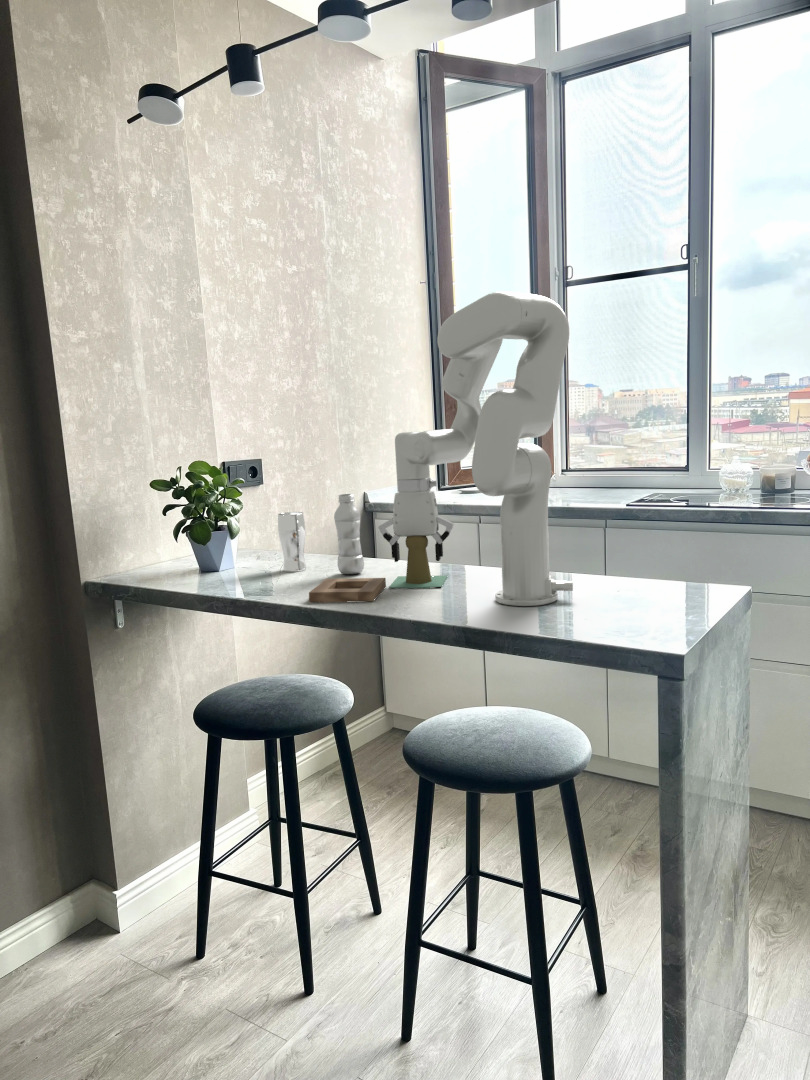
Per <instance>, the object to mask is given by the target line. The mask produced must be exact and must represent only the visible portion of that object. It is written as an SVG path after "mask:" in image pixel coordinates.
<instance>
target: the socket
mask: <svg viewBox="0 0 810 1080" xmlns="http://www.w3.org/2000/svg"><path fill="white" fill-rule="evenodd" d="M386 580H387V579H386V577H360V578H359V577H358V578H357V577H354V578H353V577H352V578H325V579H323V580H322V582H320V583H319V584H318V585H317V586H315V587H314V588H313V589H311V590H310V591H309V592H308V599H309V600H308V601H309V603H310V602H317V603H348V602H347V601H374V602H375V600H376V599H377V598H378V597H379V596H380V595H381V594H382V592H383V591H384V590H385V589H386V588H387V584H386V583H387V581H386ZM385 587H386V588H385ZM384 588H385V589H384ZM383 589H384V590H383ZM382 590H383V591H382ZM381 591H382V592H381ZM380 593H381V594H380ZM379 594H380V595H379ZM378 595H379V596H378ZM377 596H378V597H377ZM376 597H377V598H376ZM375 598H376V599H375ZM374 599H375V600H374Z"/></svg>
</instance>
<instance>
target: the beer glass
mask: <svg viewBox="0 0 810 1080" xmlns="http://www.w3.org/2000/svg"><path fill="white" fill-rule="evenodd" d="M277 529H278V530H277V531H278V539H279V542H280V546H281V550H282V554H283V567H282V569H283V570H282V571H283V572H284V573H285V572H286V573H296V572H303V571H306V570H307V565H306V561H305V542H306V524H305V518H304V512H303V511H288V512H280V513H278V514H277Z"/></svg>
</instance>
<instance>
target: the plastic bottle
mask: <svg viewBox="0 0 810 1080" xmlns="http://www.w3.org/2000/svg"><path fill="white" fill-rule="evenodd" d="M354 496H355V495H354V493H344V494H339V495H338V504H339V505H338V506H337V508H336V510H335V511H334V514H333V520H334V525H335V529H336V535H337V542H338V550H337V553H338V554H337V555H338V556H337V568H338V571H339V572H340V573H341V574H344V575H349V574H352V575H355V574H359V573H362V572H363V570H364V569H365V560H364V556H363V554H362V552H363V551H362V545H361V537H360V536H361V534H360V533H361V530H360V529H361V513H360V511H359V509H358V508H357V507H356V505H355V504H354V502H355V499H354V498H355V497H354Z"/></svg>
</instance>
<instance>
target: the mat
mask: <svg viewBox="0 0 810 1080" xmlns="http://www.w3.org/2000/svg"><path fill="white" fill-rule="evenodd" d="M432 576H434V577H432ZM447 576H448V575H447V574H446V575H431V580H432V581H431V582H429V583H423V584H409V583H406V575H403V576H402V575H401V576H399V575H398V576H397V577H396V578H395V579H394V580H393V582H392V583H391V584H390V585H389V586H388V589H389V588H423V589H431V588H430V587H442V588H443V586H444V584H445V583H446V581H447V579H448V577H447ZM446 578H447V579H446ZM445 580H446V581H445ZM444 582H445V583H444ZM442 585H443V586H442Z"/></svg>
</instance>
